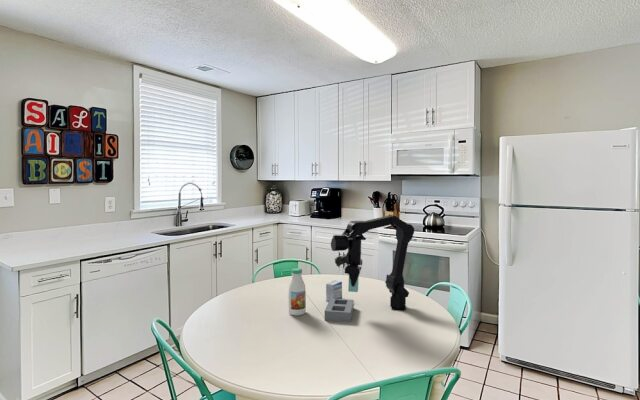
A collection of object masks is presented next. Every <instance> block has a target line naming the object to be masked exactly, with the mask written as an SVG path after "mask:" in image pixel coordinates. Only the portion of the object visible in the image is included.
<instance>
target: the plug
mask: <svg viewBox="0 0 640 400" xmlns="http://www.w3.org/2000/svg"><path fill="white" fill-rule="evenodd" d="M359 278H360V275H359V276H358V279H357V281H356V283H355V286H352V285H351V280H350V275H349V274H348V287H347V288H348V289H347V290H348V291H347V292H350V293H351V292H352V293H358V291H359V282H360V281H359V280H360V279H359Z"/></svg>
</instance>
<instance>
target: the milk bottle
mask: <svg viewBox="0 0 640 400" xmlns="http://www.w3.org/2000/svg"><path fill="white" fill-rule="evenodd" d="M302 275H303V269H302V268H300V267H294V268H291V279H290V281H289V284H288V302H287V303H288V304H287V305H288V306H287V307H288V309H287V310H288V314H289V315H290V316H299V317H300V316H303V315H305V314H306V310H307V309H306V307H307V306H306V298H307V297H306V292H307V291H306V284H305V282H304V279H303V276H302Z"/></svg>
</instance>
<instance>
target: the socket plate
mask: <svg viewBox="0 0 640 400" xmlns="http://www.w3.org/2000/svg"><path fill="white" fill-rule="evenodd" d="M354 301H355V300H354V299H351V298H350V299H349V298H347V299H345V298H341V299H333V298H330V300H329V301H327V302H328V303H327V304H326V306H325V308H324V321H330V322H331V321H333V322H344V323H345V322H347V323H351V322H352V321H351V320H352V316H353V313H354V309H355V307H354V305H355V304H354V303H355V302H354Z"/></svg>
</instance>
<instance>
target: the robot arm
mask: <svg viewBox="0 0 640 400" xmlns="http://www.w3.org/2000/svg"><path fill="white" fill-rule="evenodd" d="M387 226H391V227H392V229H395V237H396V241H397V243H396V248H395V253H394V259H393V264H392V270H391V272H390V273H389V274H386V275H385V276H386V280H385V282H384V283H385V287H386V288H387V290H388V291H389V293H390V294H391V296H390V301H389V302H390V303H389V304H390V307H391V310H392V311H393V310H394V311H407V306H406V305H407V304H406V301H407V300H406V299H407V298H408V297H409V295H410V292H409V291H408V290H407V289H406V287H405V279H404V268H405V262H406V257H407V252H408V247H409V243H410V242H411V241H412V239H413V237H414V234H415V227H414V226H413V225H412V224H410V223H407V222H405V221H403V220H402V219H400V218H399V217H397V215H394V214H388V215H385V216H380V217H376V218H372V219H368V220H350V221H349V222H348V224H347V225H346V228H345V229H344V231H343V232H342V233H341V234H333V236H332V238H331V241H330V248H331V250H332V251H333V252H339V251H341V252H342V251H343V252H344V251H347V253H346V254H343V255H340V256H337V257H335V258H334V263H335V264H336V265H335V266H336V267H339V266H341V265H345V264H346V266H345V268H344V274H347V275H348V276H349V275H350V280H351V285H352V286H355V283H356V281H357V279H358V276H359V277H360V274H361V271H362V266H363V259H362V241H366V240H367V238H366V237H365V236H364V235H365V234H366V233H367V232H369V231H371V230H374V229H375V230H376V229H378V228H383V227H387ZM363 234H364V235H363Z"/></svg>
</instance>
